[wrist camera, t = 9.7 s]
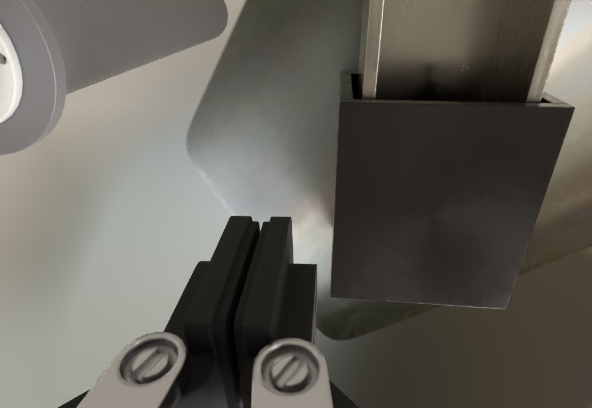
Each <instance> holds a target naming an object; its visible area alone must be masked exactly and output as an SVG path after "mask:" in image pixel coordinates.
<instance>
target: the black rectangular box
mask: <svg viewBox="0 0 592 408" xmlns="http://www.w3.org/2000/svg"><path fill="white" fill-rule="evenodd" d="M357 80H358V72H341V73H340V94H339V115H338V135H337V156H336V177H335V198H334V218H333V241H332V265H331V288H330V297H335V298H350V299H364V300H379V301H393V302H408V303H422V304H437V305H451V306H466V307H481V308H495V309H506V307H507V304H508V301H509V298H510V295H511V292H512V289H513V286H514V283H515V280H516V278H517V275H518V272H519V269H520V266H521V263H522V260H523V257H524V254H525V251H526V249H527V246H528V243H529V240H530V237H531V234H532V231H533V228H534V225H535V222H536V220H537V217H538V214H539V211H540V208H541V205H542V202H543V199H544V196H545V193H546V190H547V188H548V185H549V182H550V179H551V176H552V173H553V170H554V167H555V164H556V161H557V159H558V156H559V153H560V150H561V147H562V144H563V141H564V138H565V135H566V132H567V130H568V127H569V124H570V121H571V118H572V115H573V112H574V109H575V107H573V106H571V105H569V104H567V103H565V102H563V101H561V100H559V99H557V98H555V97H553V96H551V95H549V94H547V93H545V92H543V95H542V98H541V102H540V103H505V102H456V101H407V100H358V99H356V95H357Z"/></svg>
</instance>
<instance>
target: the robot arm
mask: <svg viewBox="0 0 592 408" xmlns="http://www.w3.org/2000/svg"><path fill="white" fill-rule="evenodd" d="M22 86H23V80H22V71H21V66H20V63H19V59H18V56H17V53H16V51H15V49H14V46H13V44H12V42H11V40H10V38H9V36H8V35H7V33H6V32H5V30H4V28H3V27H2V25H1V24H0V123H2V122H4V121H6V120H7V119H8V118H9V117H10V116H11V115H12V114H13V113H14V112H15V110H16V108H17V107H18V105H19V102H20V99H21V96H22ZM316 314H317V264H293V240H292V220H291V217H271V219H270V222H263V225H262V228H261V231H260V228H259V222H256V221H252V217H251V216H231V217H230V218H229V221H228V223H227V225H226V227H225V229H224V232H223V234H222V236H221V238H220V240H219V243H218V245H217V247H216V249H215V252H214V254H213V256H212V258H211V260H210V261H200V262H199V263H198V264H197V266H196V267H195V270H194V272H193V273H192V275H191V278H190V279H189V282H188V284H187V286H186V288H185V290H184V292H183V294H182V296H181V298H180V300H179V302H178V304H177V306H176V308H175V310H174V312H173V314H172V316H171V318H170V320H169V322H168V324H167V326H166V328H165V330H164V332H155V333H150V334H146V335H144V336H141V337H139V338H136V339H135V340H133V341H132V342H130V343H129V344H127V345H126V346H125V347H124V348H123V349H122V350H121V351H120V352H119V353H118V355H117V356H116V357H115V358H114V359H113V361H112V362H111V363H110V365H109V366H108V367H107V369H106V370H105V371H104V372H103V374H102V375H101V376H100V378H99V379H98V380H97V381H96V383H95V384H94V385H93V387H92V388H91V389H90V390H88V391H86V392H85V393H83V394H81V395H79V396H78V397H76V398H74V399H72V400H70V401H69V402H67V403H65V404H63V405H62V406H60V407H58V408H358V407H357V406H356V405H355V404H354V403H353V402H352V401H351V400H350V399H349V398H348V397H347V396H346V395H345V394H344V393H343V392H341V391H340V390H339V389H338V388H337V387H336V386H335V385H334V384H333V383H332V382H331V381H330V380H329V377H328V371H327V365H326V361H325V359H324V356H323V354H322V353H321V351H320V350H319V349H318V348H317V347H316V346H315V333H316Z"/></svg>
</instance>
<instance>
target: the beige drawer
mask: <svg viewBox="0 0 592 408" xmlns="http://www.w3.org/2000/svg"><path fill="white" fill-rule="evenodd" d="M570 1H571V0H363V8H362V22H361V37H360V51H359V66H358V80H357V95H356V99H358V100H407V101H456V102H505V103H540V102H541V98H542V95H543V92H544V88H545V85H546V82H547V78H548V75H549V72H550V68H551V65H552V62H553V58H554V55H555V52H556V48H557V45H558V42H559V38H560V35H561V31H562V28H563V25H564V21H565V18H566V15H567V11H568V8H569V5H570Z"/></svg>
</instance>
